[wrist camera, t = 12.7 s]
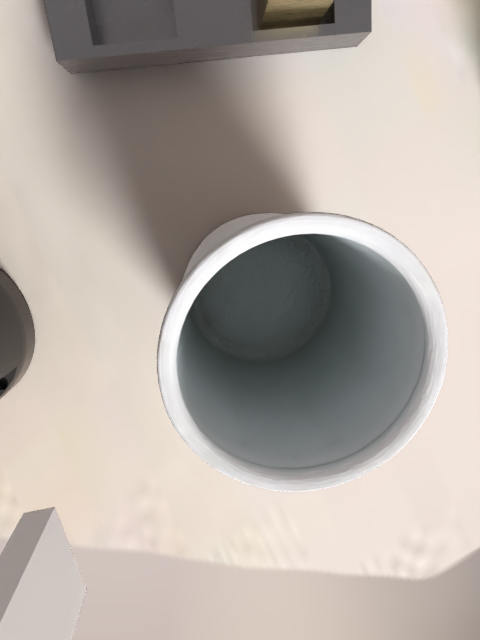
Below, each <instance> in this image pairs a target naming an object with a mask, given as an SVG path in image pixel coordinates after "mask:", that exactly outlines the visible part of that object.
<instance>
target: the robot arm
mask: <svg viewBox="0 0 480 640" xmlns="http://www.w3.org/2000/svg"><path fill="white" fill-rule="evenodd" d="M34 345H35V330H34V324H33V319H32V316H31V313H30V310H29V307H28V305H27V303H26V301H25V299H24V297H23V295H22V294H21V292H20V291H19V289H18V288H17V287H16V285H15V284H14V283H13V282H12V280H11V279H10V278H9V277H8V276H7V275H6V274H5V273H4V272H3V271H2V270H1V269H0V399H1V398H2V397H3V396H4V395H5V394H6V393H7V392H8V391H10V390H11V389H12V388H13V387H14V386H15V385H16V384H17V383H18V382H19V380H20V379H21V378H22V377H23V375H24V374H25V372H26V370H27V369H28V367H29V365H30V362H31V359H32V356H33V352H34ZM86 590H87V587H86V585H85V583H84V580H83V577H82V575H81V572H80V570H79V567H78V565H77V562H76V560H75V557H74V554H73V552H72V549H71V547H70V544H69V542H68V539H67V537H66V534H65V532H64V529H63V527H62V524H61V521H60V519H59V516H58V514H57V511H56V509H55V507H52V508H47V509H42V510H37V511H32V512H27V513H24V514H23V515H22V517H21V519H20V521H19V523H18V524H17V526H16V528H15V530H14V532H13V533H12V535H11V537H10V539H9V540H8V542H7V544H6V546H5V548H4V549H3V551H2V553H1V555H0V640H72V638H73V635H74V632H75V628H76V624H77V621H78V618H79V614H80V611H81V608H82V604H83V601H84V597H85V594H86Z"/></svg>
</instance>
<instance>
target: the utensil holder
mask: <svg viewBox="0 0 480 640" xmlns="http://www.w3.org/2000/svg"><path fill="white" fill-rule="evenodd" d="M447 356H448V329H447V322H446V316H445V310H444V307H443V303H442V300H441V297H440V295H439V292H438V289H437V287H436V285H435V283H434V281H433V280H432V277H431V276H430V275H429V273H428V271H427V270H426V268H425V267H424V266H423V264H422V263H421V262H420V260H419V259H418V258H417V257H416V255H415V254H414V253H413V252H412V251H411V250H410V249H409V248H408V247H407V246H405V245H404V244H403V243H402V242H401V241H399V240H398V239H397V238H395V237H394V236H393V235H391V234H390V233H388V232H386V231H385V230H383V229H381V228H379V227H377V226H375V225H373V224H370V223H368V222H365V221H363V220H360V219H356V218H353V217H349V216H346V215H340V214H334V213H324V212H297V213H290V214H279V213H262V214H252V215H246V216H242V217H239V218H236V219H233V220H231V221H229V222H226V223H225V224H223V225H221V226H219V227H218V228H216V229H215V230H214V231H212V232H211V233H210V234H209V235H208V236H207V237H206V238H205V239H204V240H203V241H202V242H201V244H200V245H199V246H198V248H197V249H196V251H195V252H194V254H193V256H192V257H191V259H190V262H189V264H188V266H187V268H186V271H185V273H184V276H183V279H182V282H181V283H180V285H179V286H178V288H177V290H176V291H175V293H174V295H173V297H172V299H171V301H170V304H169V306H168V308H167V311H166V314H165V316H164V319H163V323H162V326H161V330H160V335H159V341H158V350H157V374H158V383H159V387H160V392H161V396H162V399H163V403H164V406H165V408H166V411H167V413H168V416H169V418H170V420H171V422H172V424H173V425H174V427H175V429H176V430H177V432H178V433H179V435H180V436H181V437H182V439H183V440H184V441H185V443H186V444H187V445H188V446H189V447H190V448H191V449H192V450H193V451H194V453H195V454H196V455H198V456H199V457H200V458H201V459H202V460H203V461H205V462H206V463H207V464H209V465H210V466H211V467H213V468H214V469H216V470H217V471H219V472H221V473H223V474H225V475H227V476H229V477H231V478H233V479H235V480H237V481H240V482H243V483H245V484H248V485H251V486H255V487H259V488H263V489H267V490H274V491H284V492H306V491H313V490H320V489H325V488H329V487H334V486H337V485H340V484H343V483H346V482H349V481H352V480H354V479H357V478H359V477H361V476H363V475H365V474H367V473H369V472H371V471H372V470H374V469H376V468H377V467H379V466H381V465H382V464H384V463H385V462H386V461H388V460H389V459H390V458H392V457H393V456H394V455H395V454H396V453H398V452H399V451H400V450H401V449H402V448H403V447H404V446H405V445H406V444H407V443H408V442H409V441H410V440H411V438H412V437H413V436H414V435H415V434H416V432H417V431H418V430H419V429H420V427H421V426H422V424H423V423H424V421H425V420H426V418H427V416H428V415H429V413H430V411H431V409H432V407H433V405H434V403H435V401H436V399H437V396H438V394H439V391H440V389H441V385H442V382H443V379H444V374H445V370H446V364H447Z"/></svg>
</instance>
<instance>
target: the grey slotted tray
mask: <svg viewBox="0 0 480 640" xmlns="http://www.w3.org/2000/svg"><path fill="white" fill-rule="evenodd" d="M44 3H45V8H46V13H47V17H48V22H49V27H50V32H51V37H52V41H53V46H54V51H55V56H56V60H57V62H58V63H59V64H61V65H62V66H63V67H64V68H65V69H66V70H67V71H68V72H70V73H71V74H72V73H83V72H93V71H104V70H114V69H125V68H136V67H146V66H157V65H167V64H178V63H188V62H199V61H209V60H220V59H230V58H241V57H251V56H262V55H272V54H283V53H294V52H304V51H315V50H325V49H336V48H346V47H357V46H358V45H359V44H360V43H361V42H362V41H363V40H364V39H365V38H366V37H367V36H368V35H369V34H370V33H371V0H334V1H333V2H332V4H331V6H330V7H329V9H328V10H327V12H326V13H325V15H324V16H323V18H322V20H321V21H320V23H319V24H318V25H311V26H301V27H290V28H279V29H268V30H258V20H257V6H256V0H44Z"/></svg>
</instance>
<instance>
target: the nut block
mask: <svg viewBox="0 0 480 640" xmlns="http://www.w3.org/2000/svg"><path fill="white" fill-rule="evenodd" d="M333 1H334V0H256V6H257V20H258V30H268V29H279V28H290V27H301V26H311V25H318V24H319V23H320V21H321V20H322V18H323V16H324V15H325V13H326V12H327V10H328V9H329V7H330V6H331V4H332V2H333Z"/></svg>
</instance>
